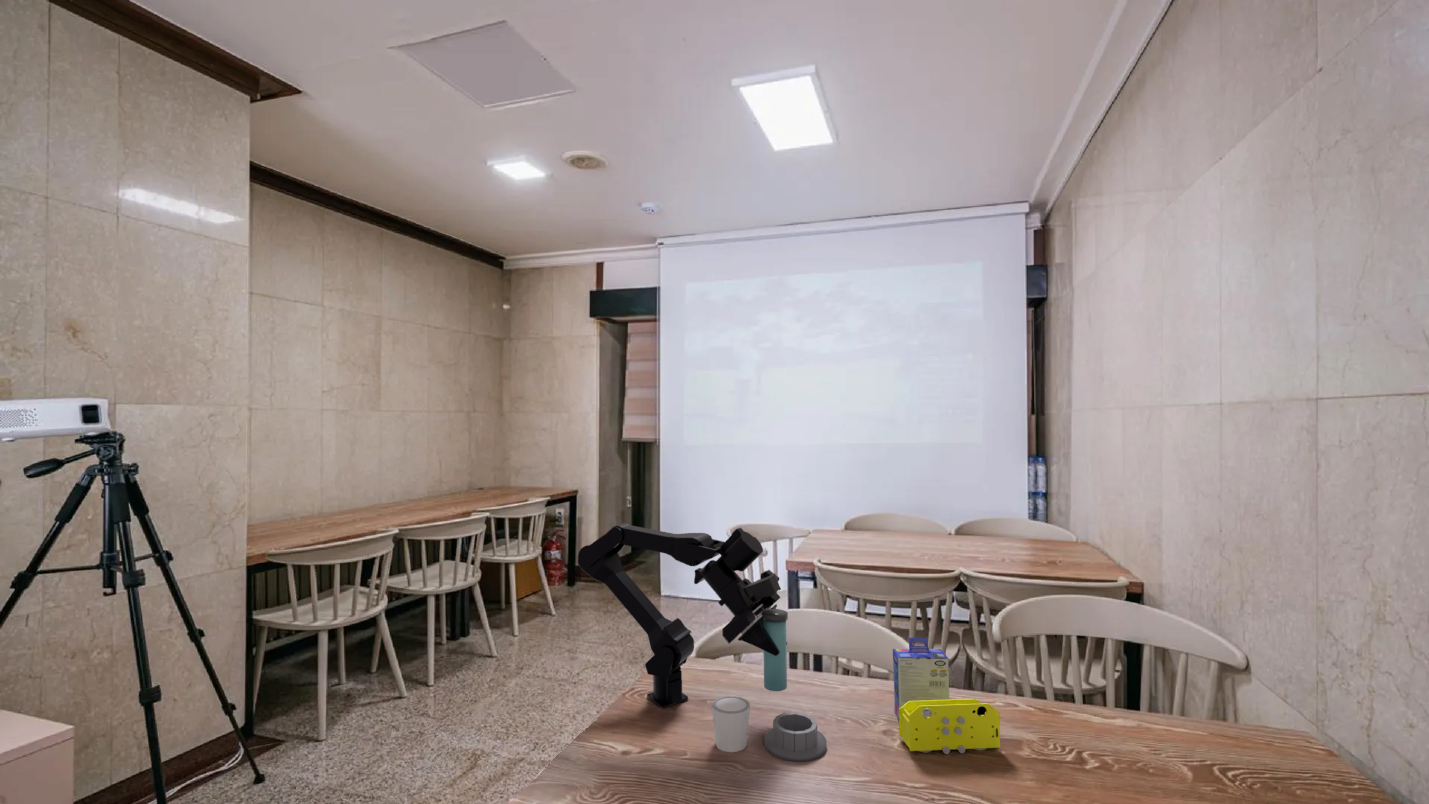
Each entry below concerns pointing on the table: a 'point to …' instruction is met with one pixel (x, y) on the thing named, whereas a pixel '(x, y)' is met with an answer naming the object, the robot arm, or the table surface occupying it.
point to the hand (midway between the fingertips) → (781, 650)
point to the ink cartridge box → (919, 674)
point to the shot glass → (731, 723)
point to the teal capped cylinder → (778, 664)
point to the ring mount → (795, 738)
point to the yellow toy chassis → (949, 725)
